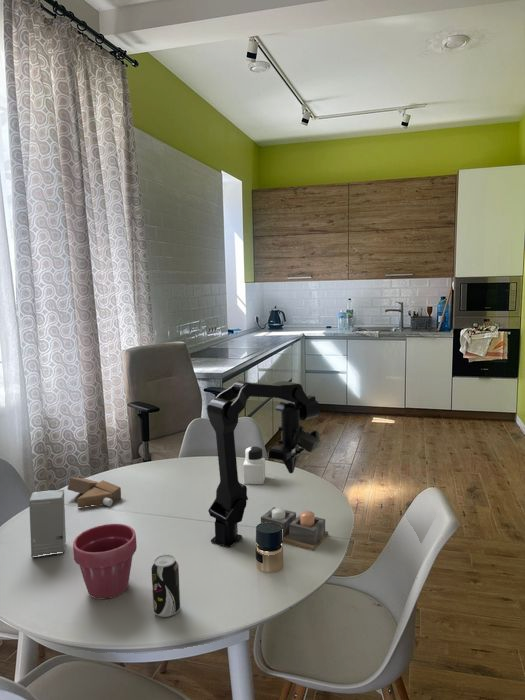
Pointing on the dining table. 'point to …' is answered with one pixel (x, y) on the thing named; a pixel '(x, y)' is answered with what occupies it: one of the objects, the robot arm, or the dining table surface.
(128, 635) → the dining table surface
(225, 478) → the robot arm
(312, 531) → the double box holder
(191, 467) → the dining table surface
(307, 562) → the dining table surface
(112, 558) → the plant pot
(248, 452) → the medicine bottle
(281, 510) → the white short rounded cylinder
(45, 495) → the skincare box
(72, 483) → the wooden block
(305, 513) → the terracotta plunger
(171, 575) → the beverage can
